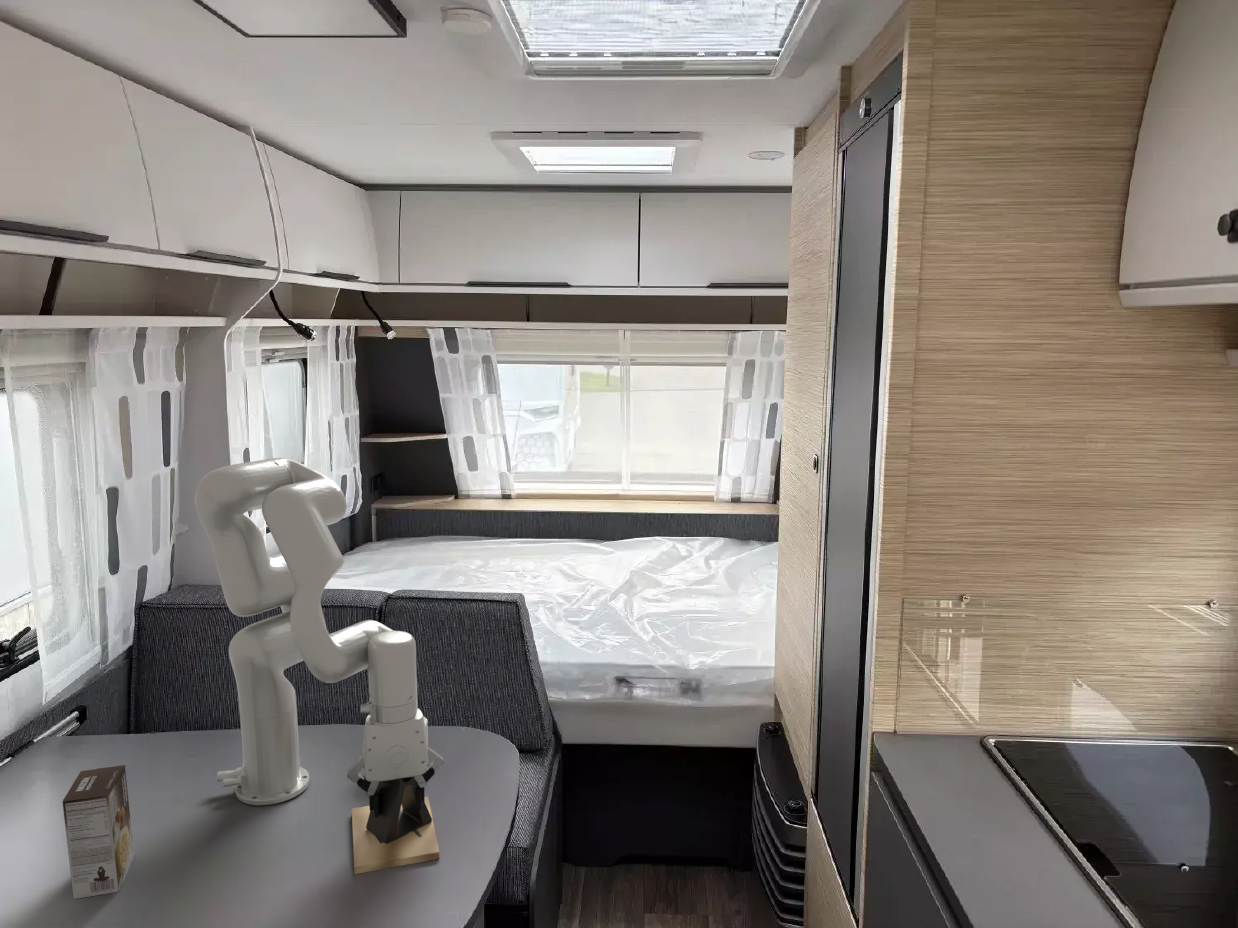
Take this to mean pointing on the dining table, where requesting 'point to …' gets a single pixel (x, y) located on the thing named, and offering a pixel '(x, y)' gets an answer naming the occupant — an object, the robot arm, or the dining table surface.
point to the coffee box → (98, 831)
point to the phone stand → (397, 810)
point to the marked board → (391, 845)
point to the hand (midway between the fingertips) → (397, 808)
